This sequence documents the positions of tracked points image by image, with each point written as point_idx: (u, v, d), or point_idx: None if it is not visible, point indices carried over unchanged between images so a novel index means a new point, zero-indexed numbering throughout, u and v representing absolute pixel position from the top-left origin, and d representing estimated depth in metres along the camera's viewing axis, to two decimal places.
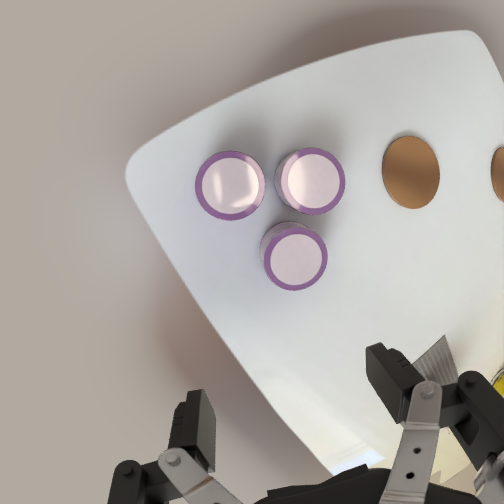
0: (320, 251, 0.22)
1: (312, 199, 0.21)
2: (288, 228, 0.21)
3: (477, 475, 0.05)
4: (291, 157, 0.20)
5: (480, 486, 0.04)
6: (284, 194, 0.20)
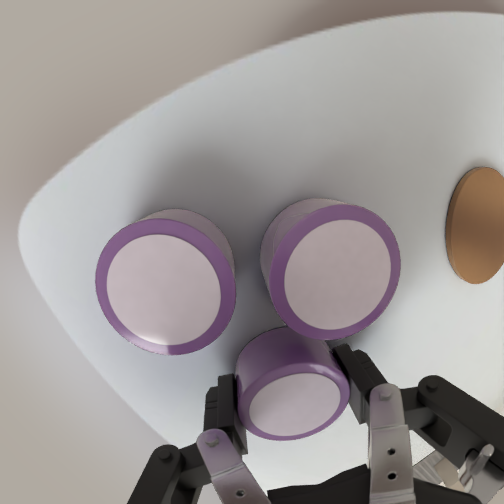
0: (339, 392, 0.11)
1: (334, 314, 0.10)
2: (283, 364, 0.10)
3: (461, 472, 0.05)
4: (294, 229, 0.09)
5: (468, 482, 0.04)
6: (277, 308, 0.10)
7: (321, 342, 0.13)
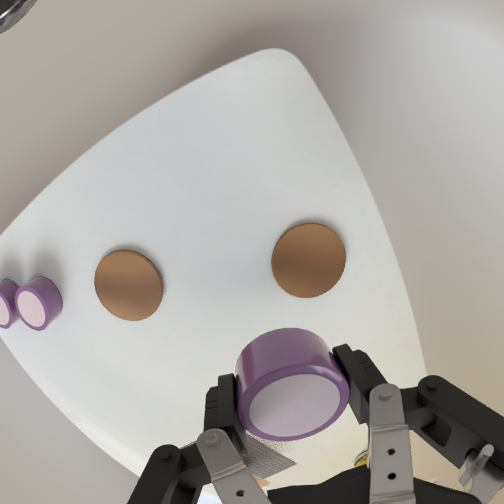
0: (338, 393, 0.11)
1: (33, 321, 0.22)
2: (283, 365, 0.10)
3: (461, 472, 0.05)
4: (16, 293, 0.22)
5: (468, 482, 0.04)
6: (20, 316, 0.22)
7: (321, 343, 0.13)
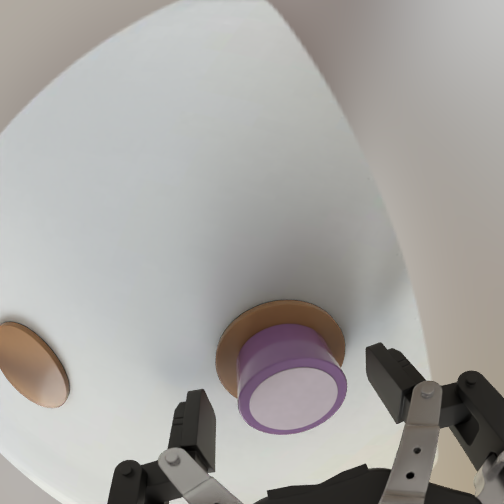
0: (336, 386, 0.11)
1: None
2: (282, 358, 0.11)
3: (477, 475, 0.05)
4: None
5: (480, 486, 0.04)
6: None
7: (319, 338, 0.13)
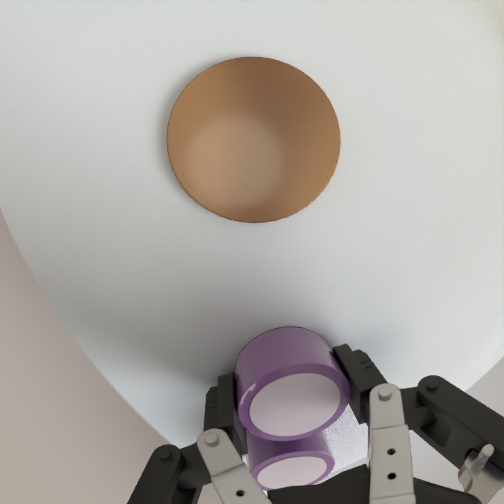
0: None
1: (326, 406, 0.11)
2: None
3: (461, 472, 0.05)
4: (256, 434, 0.11)
5: (468, 482, 0.04)
6: (312, 434, 0.12)
7: None
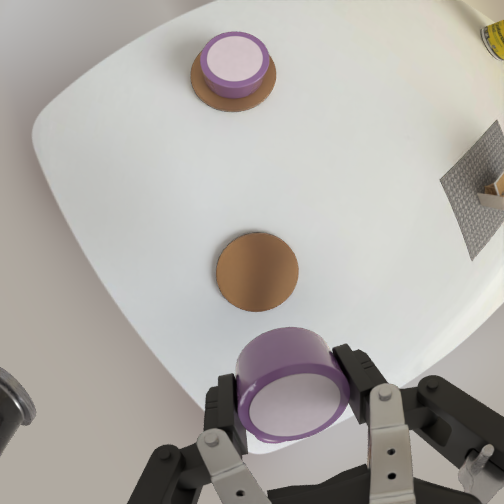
0: (226, 37, 0.17)
1: (326, 406, 0.11)
2: (201, 67, 0.17)
3: (461, 472, 0.05)
4: (256, 435, 0.11)
5: (468, 482, 0.04)
6: (312, 434, 0.12)
7: None
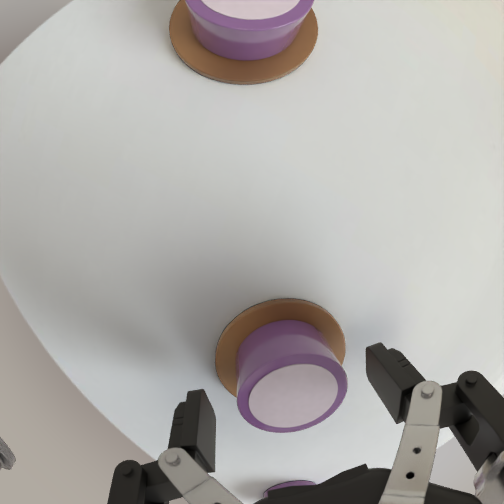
0: None
1: (323, 397, 0.11)
2: None
3: (477, 475, 0.05)
4: (255, 426, 0.12)
5: (480, 486, 0.04)
6: (310, 426, 0.12)
7: None
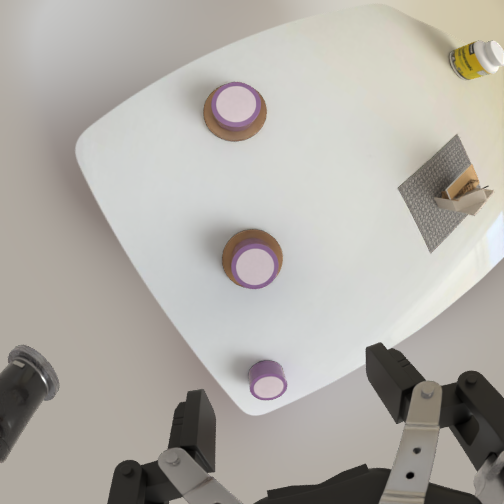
0: (230, 87, 0.26)
1: (268, 268, 0.31)
2: (212, 110, 0.26)
3: (477, 475, 0.05)
4: (239, 282, 0.31)
5: (480, 486, 0.04)
6: (264, 286, 0.31)
7: None
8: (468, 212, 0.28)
